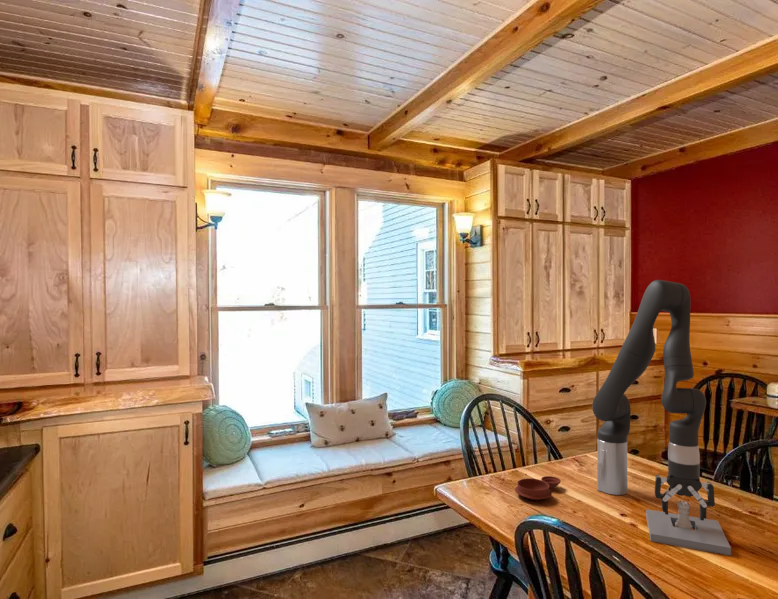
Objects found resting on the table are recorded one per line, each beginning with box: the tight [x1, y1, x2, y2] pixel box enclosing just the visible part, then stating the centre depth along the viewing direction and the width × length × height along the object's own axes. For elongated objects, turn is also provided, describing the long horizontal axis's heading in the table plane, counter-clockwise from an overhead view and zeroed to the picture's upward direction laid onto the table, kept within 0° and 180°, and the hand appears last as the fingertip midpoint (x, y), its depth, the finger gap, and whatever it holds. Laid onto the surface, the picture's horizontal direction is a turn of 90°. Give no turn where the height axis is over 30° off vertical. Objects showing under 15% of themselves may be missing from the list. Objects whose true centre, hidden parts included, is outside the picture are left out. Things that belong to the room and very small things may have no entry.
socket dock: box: [645, 509, 732, 556], centre depth 132 cm, size 18×16×2 cm
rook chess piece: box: [674, 500, 694, 530], centre depth 134 cm, size 4×4×8 cm
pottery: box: [514, 475, 561, 501], centre depth 160 cm, size 12×20×4 cm, turn 131°
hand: (683, 516), depth 133 cm, fingers open, 8 cm apart
